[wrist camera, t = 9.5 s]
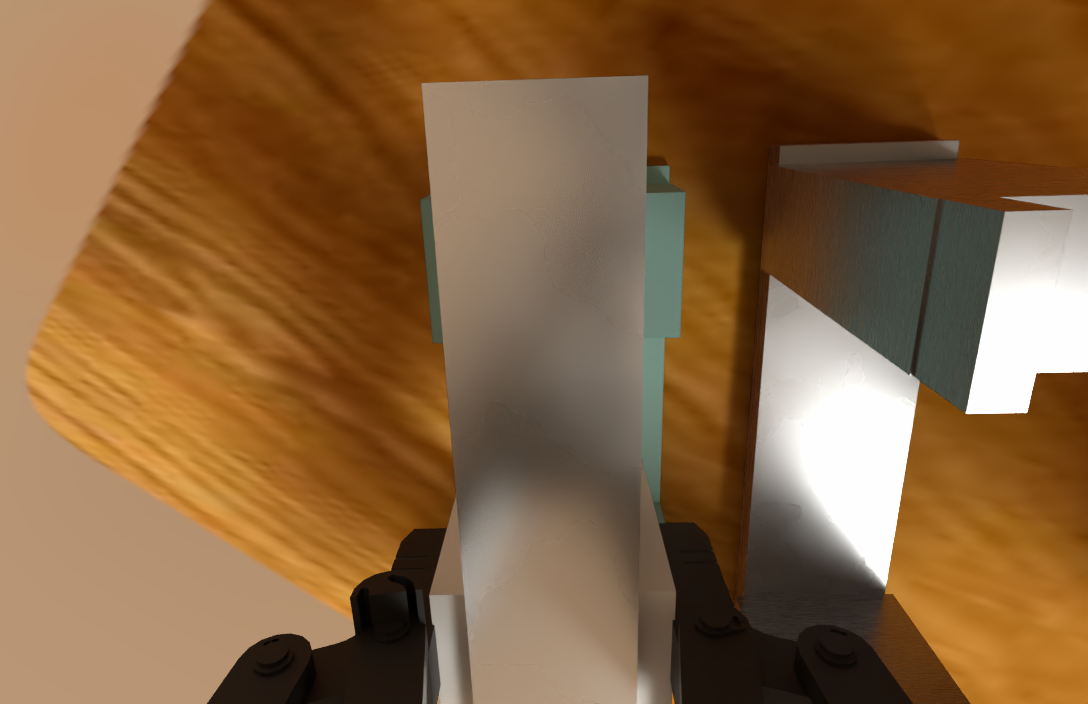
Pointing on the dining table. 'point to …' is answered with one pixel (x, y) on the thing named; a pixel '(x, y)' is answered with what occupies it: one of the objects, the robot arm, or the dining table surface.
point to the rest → (658, 303)
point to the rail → (544, 374)
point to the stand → (889, 361)
